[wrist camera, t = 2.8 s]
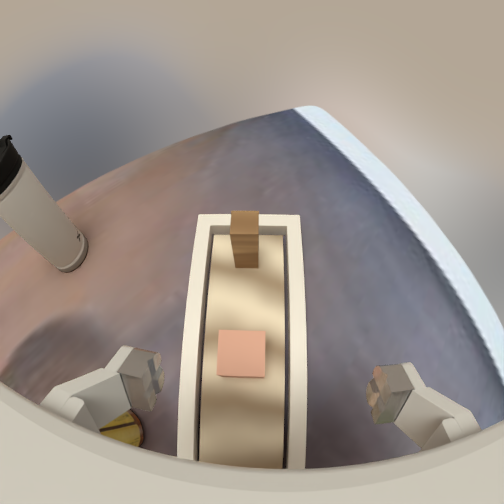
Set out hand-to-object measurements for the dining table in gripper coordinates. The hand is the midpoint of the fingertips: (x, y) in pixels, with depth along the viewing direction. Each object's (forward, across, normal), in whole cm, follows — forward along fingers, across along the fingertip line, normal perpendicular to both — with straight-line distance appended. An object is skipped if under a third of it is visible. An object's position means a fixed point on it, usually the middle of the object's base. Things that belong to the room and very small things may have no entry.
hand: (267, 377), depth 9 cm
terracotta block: (+14, +2, +10) cm, 17 cm away
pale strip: (+15, +2, +11) cm, 19 cm away
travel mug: (+23, +28, +4) cm, 36 cm away
